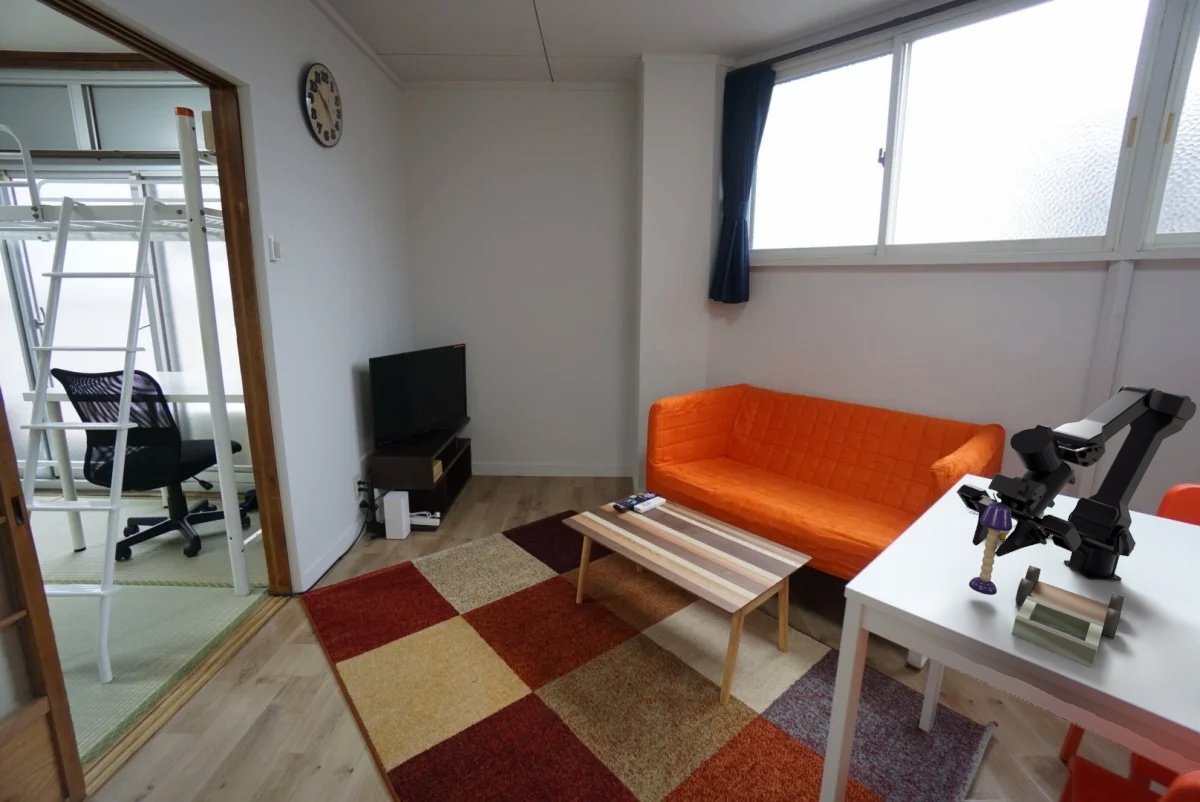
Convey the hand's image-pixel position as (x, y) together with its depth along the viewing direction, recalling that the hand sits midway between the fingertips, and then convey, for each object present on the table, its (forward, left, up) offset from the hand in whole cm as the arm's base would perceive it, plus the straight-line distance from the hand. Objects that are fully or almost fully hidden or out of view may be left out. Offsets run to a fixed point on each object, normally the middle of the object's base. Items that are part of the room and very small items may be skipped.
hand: (985, 549), depth 94 cm
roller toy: (-21, -28, -11) cm, 36 cm away
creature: (-28, -41, -11) cm, 50 cm away
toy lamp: (-1, -1, -8) cm, 8 cm away
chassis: (-11, +5, -10) cm, 16 cm away
